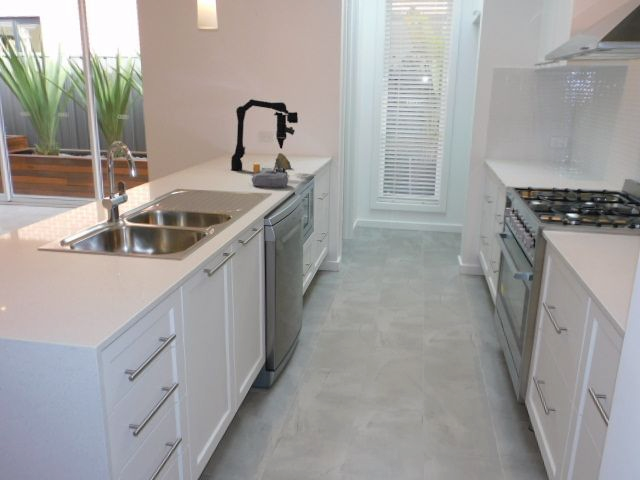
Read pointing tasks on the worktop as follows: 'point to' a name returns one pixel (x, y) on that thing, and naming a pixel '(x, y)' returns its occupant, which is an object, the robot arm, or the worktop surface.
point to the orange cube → (256, 167)
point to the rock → (283, 161)
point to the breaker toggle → (279, 163)
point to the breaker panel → (273, 170)
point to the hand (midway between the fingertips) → (281, 147)
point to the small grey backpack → (270, 179)
